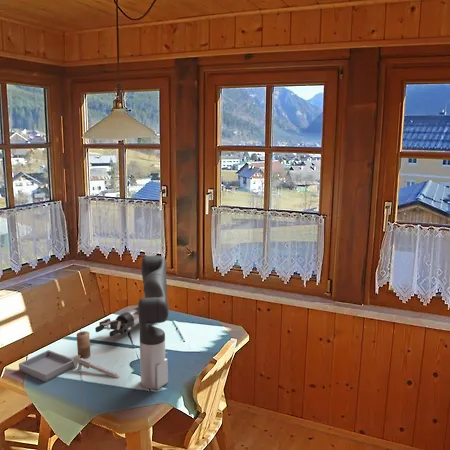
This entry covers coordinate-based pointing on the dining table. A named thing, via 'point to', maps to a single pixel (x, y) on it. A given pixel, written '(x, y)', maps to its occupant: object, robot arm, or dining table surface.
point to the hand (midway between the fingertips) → (103, 332)
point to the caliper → (92, 366)
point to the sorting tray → (47, 365)
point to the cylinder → (83, 344)
